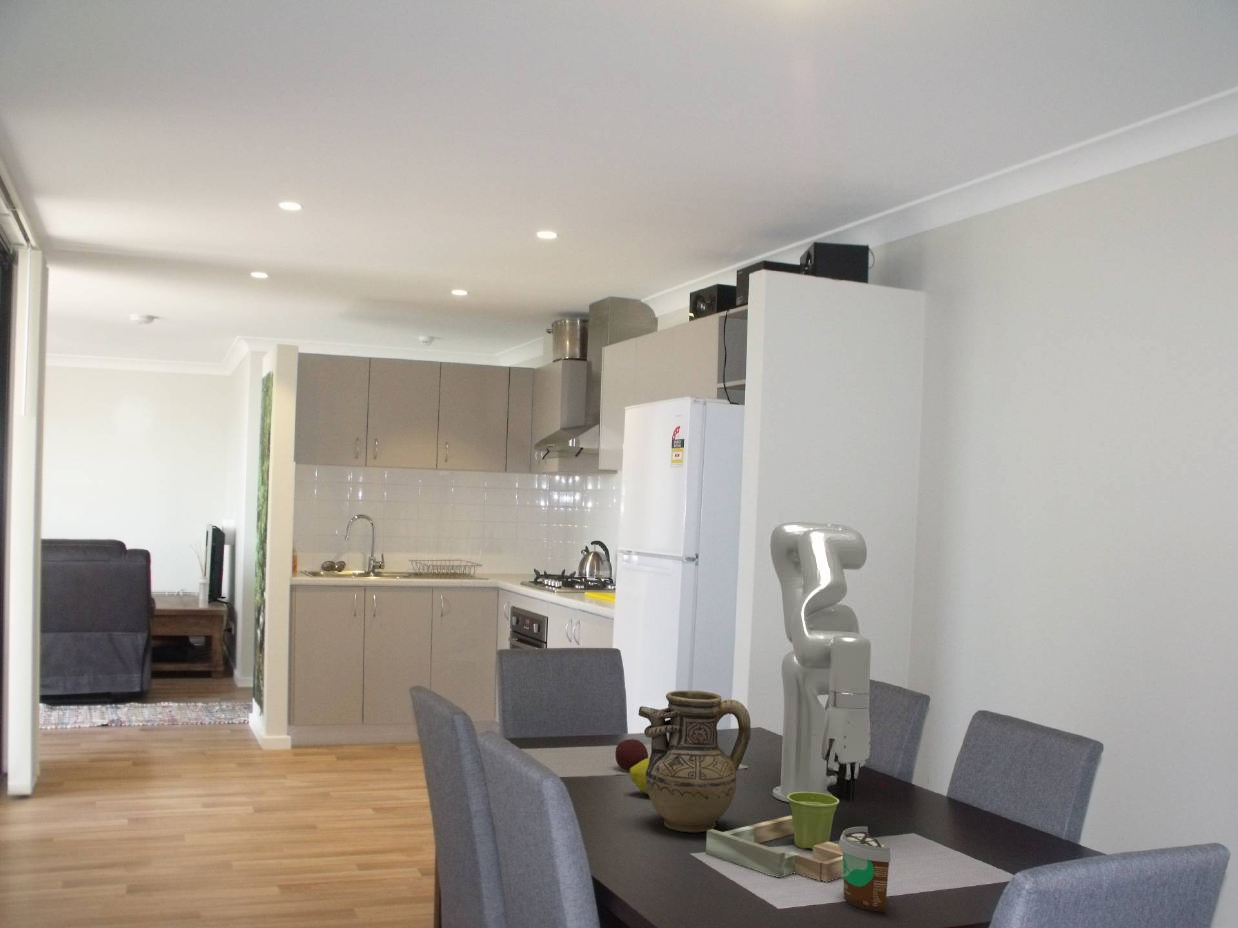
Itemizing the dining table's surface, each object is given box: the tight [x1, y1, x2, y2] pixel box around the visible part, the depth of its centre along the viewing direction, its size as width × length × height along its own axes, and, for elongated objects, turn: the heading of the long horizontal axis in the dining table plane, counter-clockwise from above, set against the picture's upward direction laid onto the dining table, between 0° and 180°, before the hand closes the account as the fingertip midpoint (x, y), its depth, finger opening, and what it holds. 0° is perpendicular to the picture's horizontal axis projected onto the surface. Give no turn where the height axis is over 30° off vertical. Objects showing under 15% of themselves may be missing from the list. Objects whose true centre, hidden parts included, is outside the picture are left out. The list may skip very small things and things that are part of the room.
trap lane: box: [705, 814, 886, 882], centre depth 199 cm, size 26×22×4 cm
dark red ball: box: [614, 738, 649, 772], centre depth 258 cm, size 7×8×7 cm
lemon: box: [629, 757, 650, 795], centre depth 236 cm, size 11×8×8 cm
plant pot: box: [787, 792, 840, 851], centre depth 206 cm, size 9×9×9 cm
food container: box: [838, 826, 892, 912], centre depth 177 cm, size 12×6×10 cm, turn 5°
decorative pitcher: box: [637, 690, 752, 834], centre depth 214 cm, size 22×18×25 cm
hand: (845, 798), depth 212 cm, fingers closed
